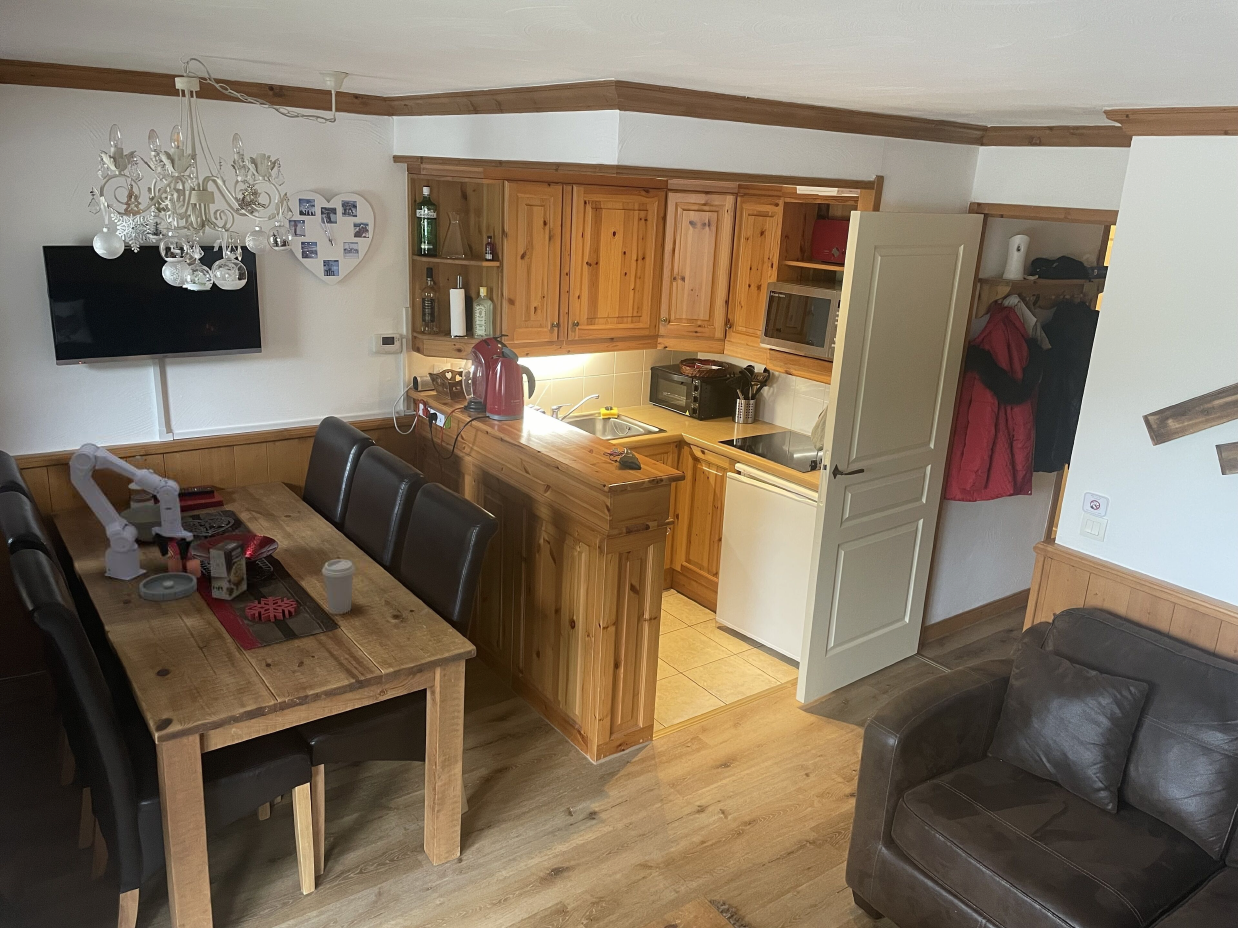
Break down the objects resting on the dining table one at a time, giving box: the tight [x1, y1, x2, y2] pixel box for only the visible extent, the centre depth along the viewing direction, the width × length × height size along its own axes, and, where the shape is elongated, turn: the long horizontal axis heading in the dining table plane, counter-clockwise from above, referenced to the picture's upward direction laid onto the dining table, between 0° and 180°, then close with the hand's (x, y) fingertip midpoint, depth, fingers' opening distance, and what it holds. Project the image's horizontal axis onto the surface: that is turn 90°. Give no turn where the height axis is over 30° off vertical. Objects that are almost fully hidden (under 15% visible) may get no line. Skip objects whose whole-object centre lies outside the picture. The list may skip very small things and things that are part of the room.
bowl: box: [119, 504, 162, 543], centre depth 323 cm, size 19×19×10 cm
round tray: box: [138, 572, 198, 602], centre depth 285 cm, size 16×16×2 cm
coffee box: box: [209, 539, 248, 601], centre depth 284 cm, size 9×6×16 cm
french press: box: [127, 455, 160, 508], centre depth 338 cm, size 10×12×25 cm
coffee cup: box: [321, 558, 356, 615], centre depth 278 cm, size 10×10×15 cm
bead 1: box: [167, 554, 183, 573], centre depth 299 cm, size 4×4×5 cm
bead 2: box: [186, 558, 202, 579], centre depth 296 cm, size 4×4×5 cm
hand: (174, 557), depth 298 cm, fingers open, 7 cm apart
